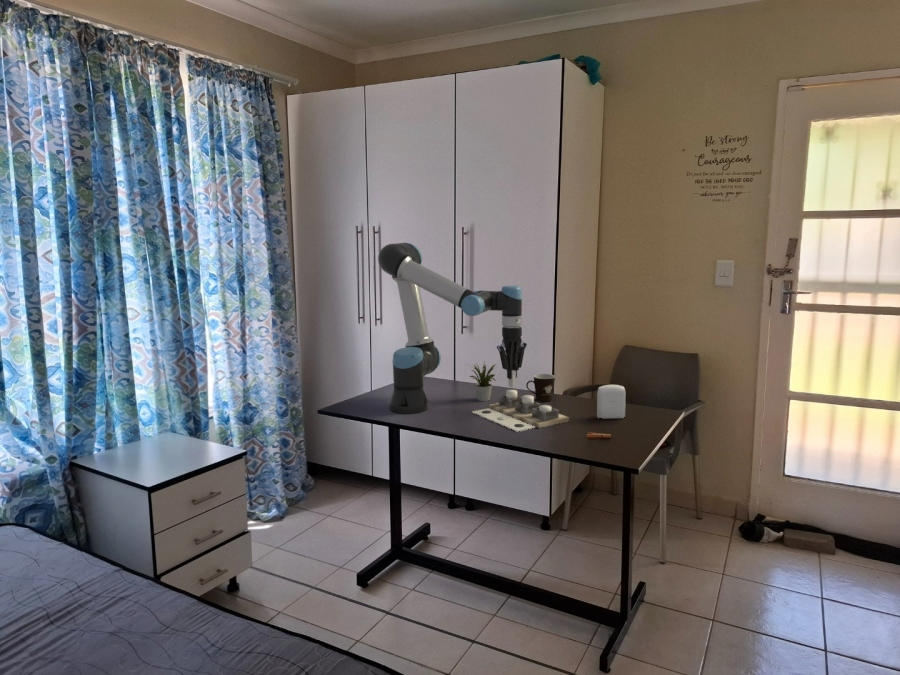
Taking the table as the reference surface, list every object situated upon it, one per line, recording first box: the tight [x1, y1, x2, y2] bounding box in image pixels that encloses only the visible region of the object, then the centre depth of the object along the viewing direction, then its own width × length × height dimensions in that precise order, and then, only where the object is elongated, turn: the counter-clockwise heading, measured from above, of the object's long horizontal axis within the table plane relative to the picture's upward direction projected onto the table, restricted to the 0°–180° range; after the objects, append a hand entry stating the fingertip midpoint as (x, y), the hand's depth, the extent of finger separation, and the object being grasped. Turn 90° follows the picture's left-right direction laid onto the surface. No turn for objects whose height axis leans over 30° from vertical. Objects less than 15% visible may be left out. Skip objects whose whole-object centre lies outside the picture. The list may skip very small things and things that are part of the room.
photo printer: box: [596, 384, 627, 419], centre depth 233 cm, size 10×4×12 cm, turn 89°
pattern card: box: [471, 407, 536, 433], centre depth 233 cm, size 28×8×1 cm, turn 32°
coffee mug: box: [525, 373, 556, 403], centre depth 258 cm, size 12×9×10 cm
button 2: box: [539, 404, 553, 412], centre depth 230 cm, size 4×4×4 cm
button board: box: [489, 395, 570, 429], centre depth 239 cm, size 30×14×4 cm, turn 32°
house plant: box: [464, 361, 498, 402], centre depth 258 cm, size 14×14×16 cm
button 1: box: [505, 389, 518, 400], centre depth 246 cm, size 4×4×4 cm
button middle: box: [521, 394, 535, 406], centre depth 238 cm, size 4×4×4 cm
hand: (512, 386), depth 246 cm, fingers closed
